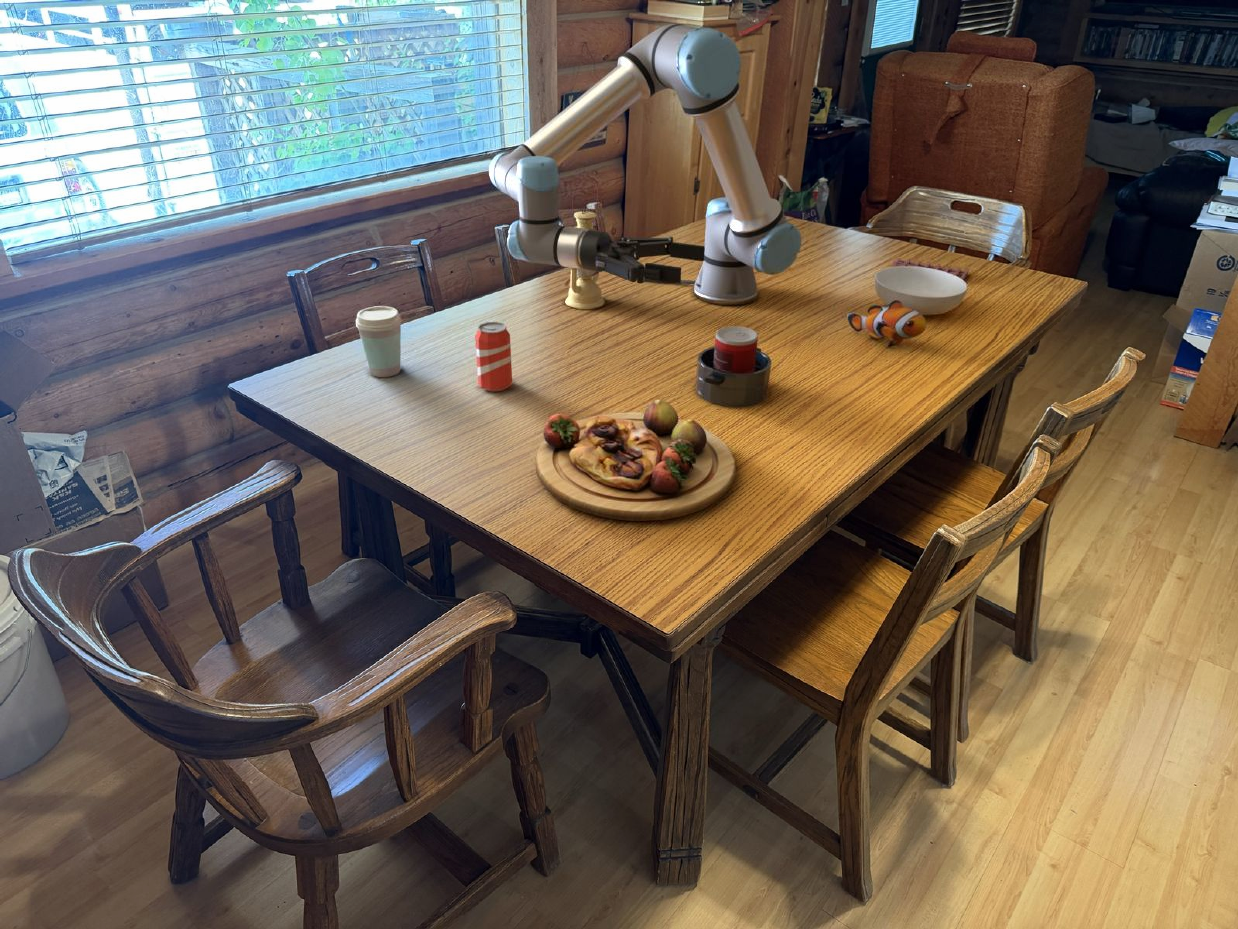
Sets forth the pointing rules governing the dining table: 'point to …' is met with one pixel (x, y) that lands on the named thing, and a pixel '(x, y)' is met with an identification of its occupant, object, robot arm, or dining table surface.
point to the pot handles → (717, 378)
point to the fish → (889, 322)
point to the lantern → (584, 289)
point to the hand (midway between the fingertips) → (692, 264)
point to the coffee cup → (381, 339)
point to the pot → (733, 382)
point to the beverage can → (493, 356)
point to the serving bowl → (920, 288)
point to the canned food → (735, 350)
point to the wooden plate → (634, 464)
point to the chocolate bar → (932, 267)
